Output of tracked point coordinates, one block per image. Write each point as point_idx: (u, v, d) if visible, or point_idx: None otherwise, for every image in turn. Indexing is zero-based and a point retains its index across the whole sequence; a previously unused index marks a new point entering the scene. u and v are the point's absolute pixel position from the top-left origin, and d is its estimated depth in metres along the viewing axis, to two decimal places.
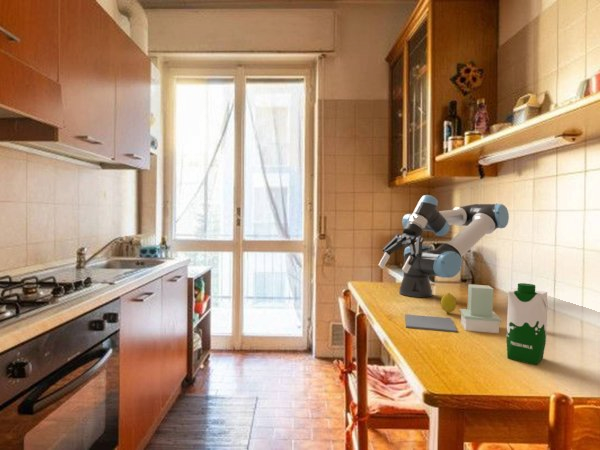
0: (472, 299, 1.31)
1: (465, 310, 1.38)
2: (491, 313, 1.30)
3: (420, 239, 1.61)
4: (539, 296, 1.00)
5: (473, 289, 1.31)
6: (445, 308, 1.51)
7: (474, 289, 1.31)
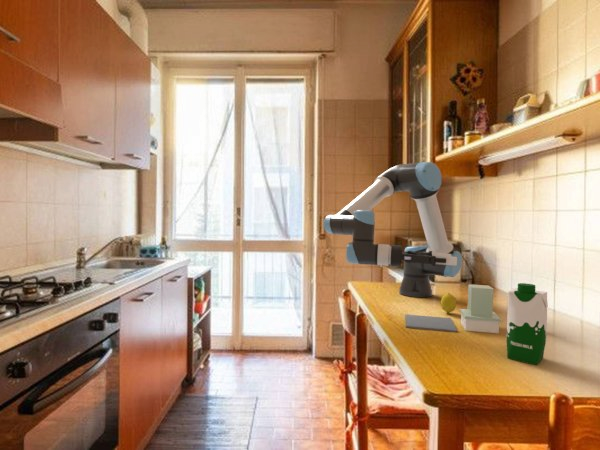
0: (472, 299, 1.31)
1: (465, 310, 1.38)
2: (491, 313, 1.30)
3: (408, 260, 1.33)
4: (539, 296, 1.00)
5: (473, 289, 1.31)
6: (445, 308, 1.51)
7: (474, 289, 1.31)
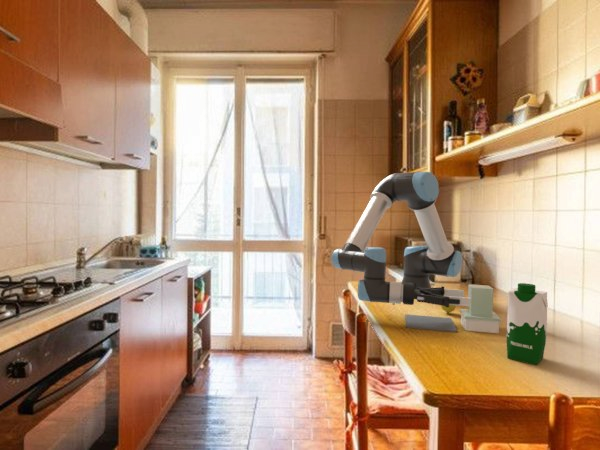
0: (472, 299, 1.31)
1: (465, 310, 1.38)
2: (491, 313, 1.30)
3: (421, 300, 1.31)
4: (539, 296, 1.00)
5: (473, 289, 1.31)
6: (445, 308, 1.51)
7: (474, 289, 1.31)
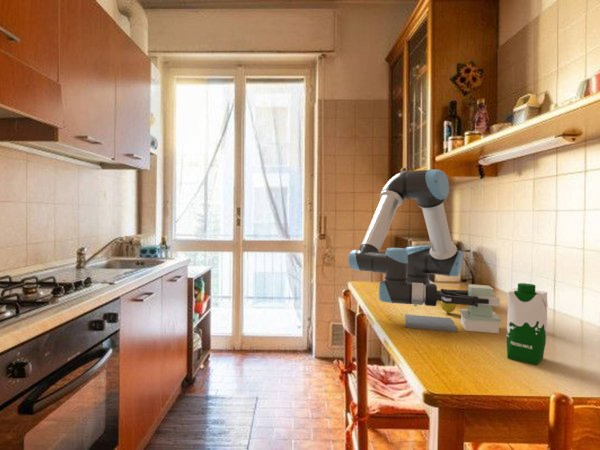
0: None
1: (465, 310, 1.38)
2: (491, 313, 1.30)
3: (449, 301, 1.30)
4: (539, 296, 1.00)
5: (473, 289, 1.31)
6: (445, 308, 1.51)
7: (474, 289, 1.31)
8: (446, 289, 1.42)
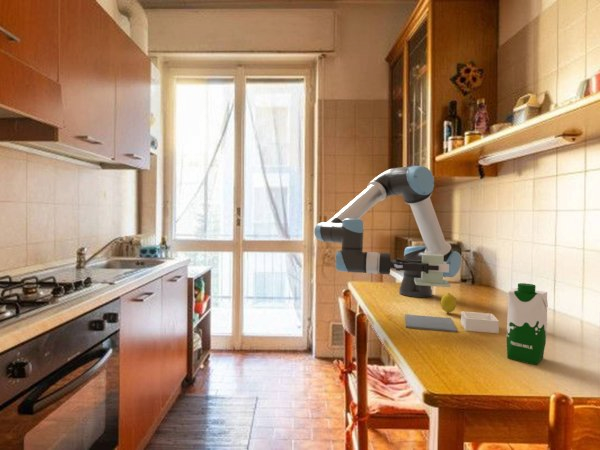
0: None
1: (419, 278, 1.42)
2: (441, 279, 1.34)
3: (401, 268, 1.33)
4: (539, 296, 1.00)
5: (424, 256, 1.35)
6: (445, 308, 1.51)
7: (425, 256, 1.35)
8: None
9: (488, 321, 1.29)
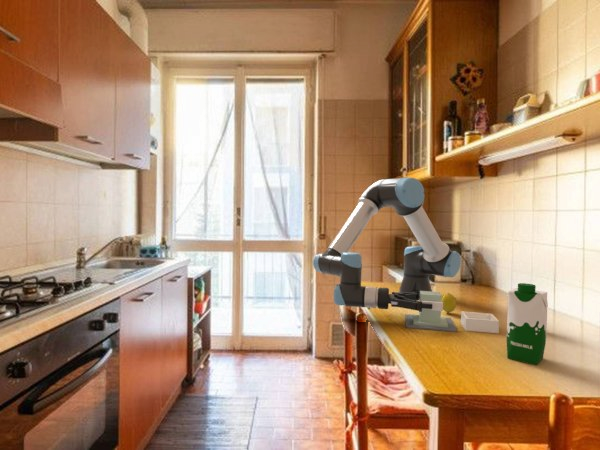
0: None
1: (417, 316, 1.42)
2: (439, 319, 1.34)
3: (395, 305, 1.34)
4: (539, 296, 1.00)
5: (422, 296, 1.35)
6: (445, 308, 1.51)
7: (423, 296, 1.35)
8: (397, 292, 1.47)
9: (488, 321, 1.29)
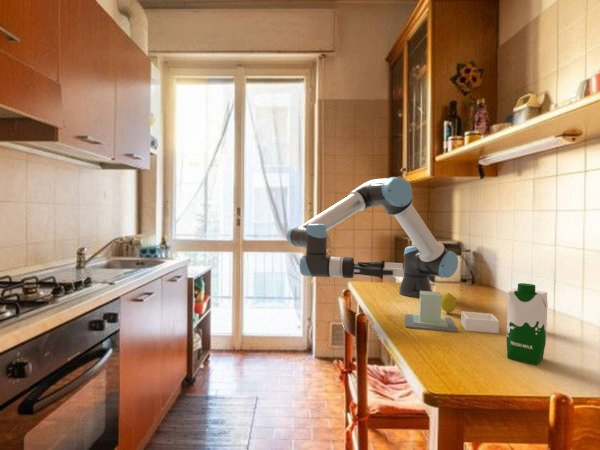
0: (421, 305, 1.35)
1: (417, 316, 1.42)
2: (439, 319, 1.34)
3: (358, 272, 1.36)
4: (539, 296, 1.00)
5: (422, 296, 1.35)
6: (445, 308, 1.51)
7: (423, 296, 1.35)
8: None
9: (488, 321, 1.29)
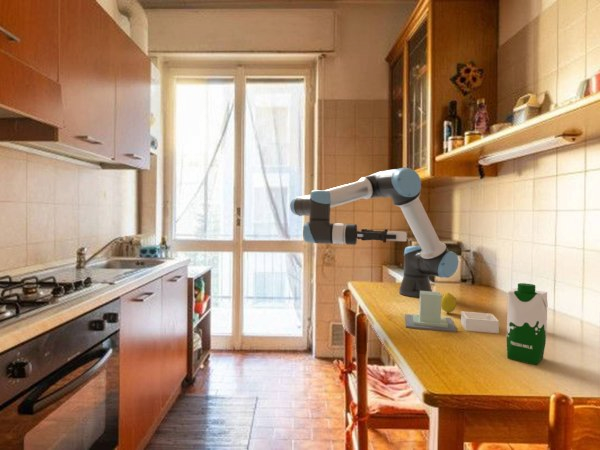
0: (421, 305, 1.35)
1: (417, 316, 1.42)
2: (439, 319, 1.34)
3: (361, 237, 1.36)
4: (539, 296, 1.00)
5: (422, 296, 1.35)
6: (445, 308, 1.51)
7: (423, 296, 1.35)
8: None
9: (488, 321, 1.29)
